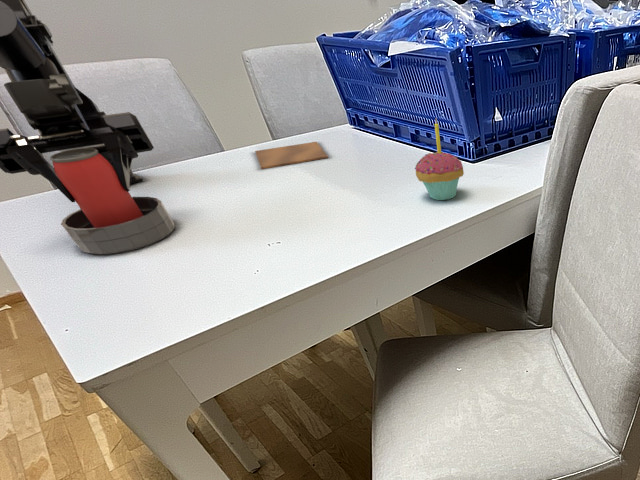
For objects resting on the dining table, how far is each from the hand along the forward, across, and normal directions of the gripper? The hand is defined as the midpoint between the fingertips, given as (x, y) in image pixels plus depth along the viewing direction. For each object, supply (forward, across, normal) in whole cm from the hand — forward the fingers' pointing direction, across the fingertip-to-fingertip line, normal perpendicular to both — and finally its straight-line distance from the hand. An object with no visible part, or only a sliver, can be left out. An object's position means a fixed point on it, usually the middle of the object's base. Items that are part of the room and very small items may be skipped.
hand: (100, 195), depth 66 cm
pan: (+4, 0, +6) cm, 7 cm away
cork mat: (-16, +33, +26) cm, 45 cm away
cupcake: (+16, +48, -6) cm, 51 cm away
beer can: (+4, 0, +6) cm, 7 cm away
